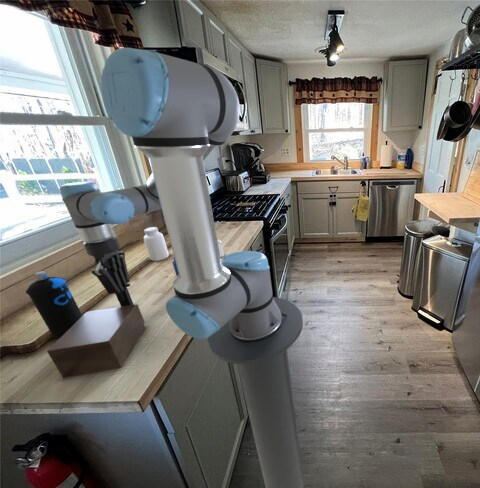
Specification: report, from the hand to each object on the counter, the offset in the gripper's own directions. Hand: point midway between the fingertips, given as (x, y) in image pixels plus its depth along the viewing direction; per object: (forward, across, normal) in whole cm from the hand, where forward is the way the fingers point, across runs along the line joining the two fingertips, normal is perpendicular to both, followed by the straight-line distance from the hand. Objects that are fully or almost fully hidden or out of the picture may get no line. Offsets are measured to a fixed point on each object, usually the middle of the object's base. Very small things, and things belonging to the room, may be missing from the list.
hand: (128, 306), depth 82 cm
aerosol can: (+5, +1, -17) cm, 18 cm away
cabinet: (+4, +14, 0) cm, 15 cm away
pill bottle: (+5, -48, -8) cm, 49 cm away
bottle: (+4, -12, +14) cm, 19 cm away
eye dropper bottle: (+5, -41, +20) cm, 46 cm away
